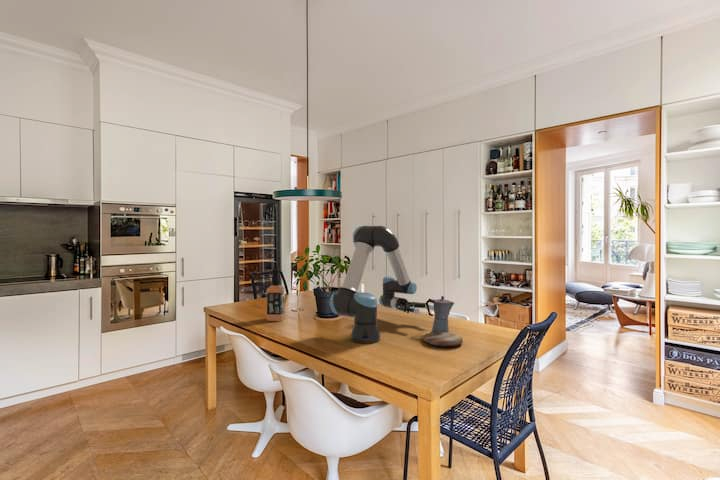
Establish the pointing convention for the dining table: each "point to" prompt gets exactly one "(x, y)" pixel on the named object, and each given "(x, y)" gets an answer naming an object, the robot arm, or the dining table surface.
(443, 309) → the moka pot
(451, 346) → the turntable base
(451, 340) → the disc
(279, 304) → the whiskey bottle
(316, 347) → the dining table surface
